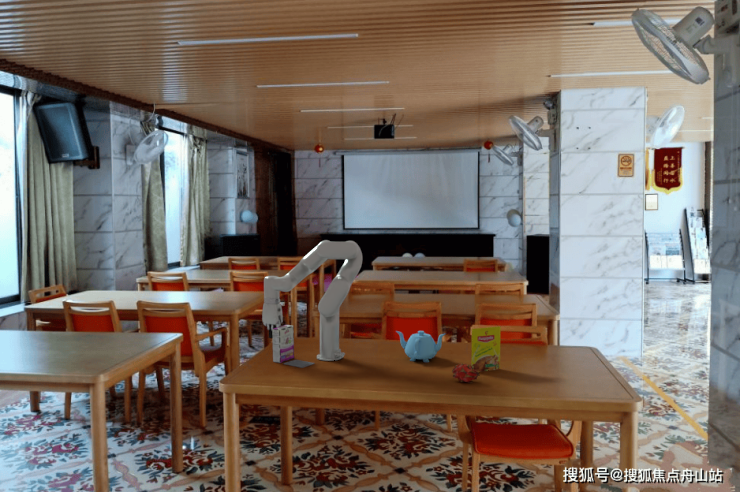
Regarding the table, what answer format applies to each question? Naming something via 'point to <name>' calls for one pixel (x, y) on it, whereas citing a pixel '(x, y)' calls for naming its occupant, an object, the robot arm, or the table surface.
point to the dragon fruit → (465, 373)
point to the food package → (486, 349)
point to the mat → (298, 363)
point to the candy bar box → (283, 343)
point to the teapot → (420, 346)
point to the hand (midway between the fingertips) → (272, 337)
